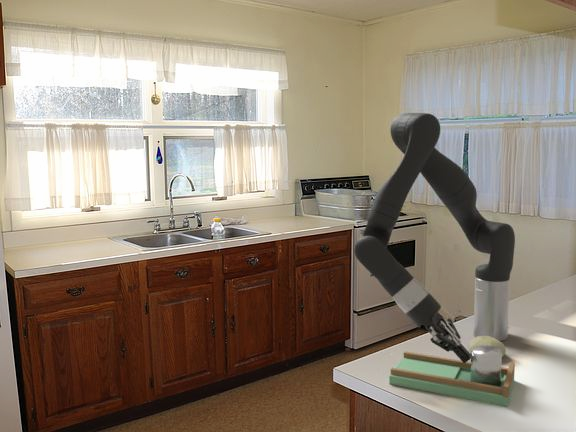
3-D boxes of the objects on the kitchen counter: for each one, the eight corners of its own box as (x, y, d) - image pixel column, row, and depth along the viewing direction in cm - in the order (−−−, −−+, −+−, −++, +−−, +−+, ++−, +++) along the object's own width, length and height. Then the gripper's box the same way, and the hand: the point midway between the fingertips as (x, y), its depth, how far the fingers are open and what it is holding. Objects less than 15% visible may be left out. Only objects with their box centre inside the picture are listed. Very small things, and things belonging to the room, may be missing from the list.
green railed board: (405, 361, 142) (405, 345, 141) (514, 380, 130) (514, 362, 129) (389, 383, 129) (389, 365, 129) (507, 406, 117) (508, 387, 117)
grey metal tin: (472, 374, 130) (473, 343, 129) (502, 379, 127) (503, 348, 126) (468, 385, 124) (469, 353, 123) (499, 390, 121) (500, 358, 120)
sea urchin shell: (495, 340, 150) (504, 327, 144) (503, 368, 145) (513, 356, 139) (462, 341, 150) (470, 328, 143) (469, 369, 145) (477, 357, 139)
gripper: (420, 300, 123) (475, 361, 119) (434, 285, 135) (484, 340, 131) (397, 319, 127) (450, 379, 123) (412, 304, 138) (461, 358, 134)
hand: (468, 359), depth 127 cm, fingers closed
